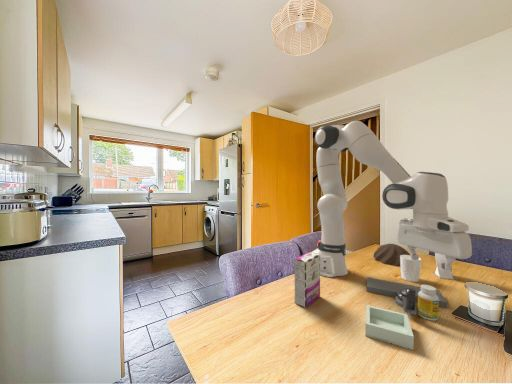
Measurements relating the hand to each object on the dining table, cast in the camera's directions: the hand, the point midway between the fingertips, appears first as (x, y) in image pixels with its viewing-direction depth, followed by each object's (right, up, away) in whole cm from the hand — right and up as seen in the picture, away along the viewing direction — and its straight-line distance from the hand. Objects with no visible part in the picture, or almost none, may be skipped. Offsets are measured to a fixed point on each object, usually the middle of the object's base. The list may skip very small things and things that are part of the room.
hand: (429, 264), depth 69 cm
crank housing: (0, -17, +13) cm, 21 cm away
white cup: (+15, -17, +29) cm, 37 cm away
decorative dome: (+23, -17, +54) cm, 61 cm away
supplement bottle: (0, -17, 0) cm, 17 cm away
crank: (-4, -15, +4) cm, 16 cm away
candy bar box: (-37, -17, +10) cm, 42 cm away
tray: (-18, -17, -7) cm, 26 cm away
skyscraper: (+33, -17, +32) cm, 49 cm away
